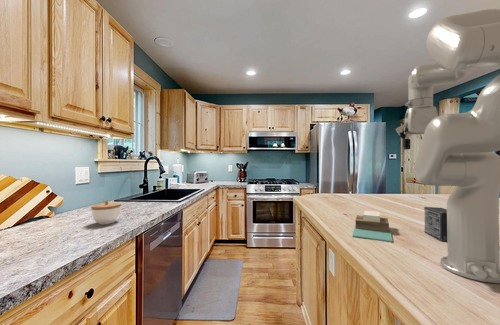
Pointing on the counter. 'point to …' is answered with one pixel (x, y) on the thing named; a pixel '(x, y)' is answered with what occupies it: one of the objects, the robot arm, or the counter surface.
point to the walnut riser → (372, 224)
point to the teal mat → (372, 235)
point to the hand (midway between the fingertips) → (420, 149)
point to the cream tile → (371, 216)
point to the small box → (436, 222)
